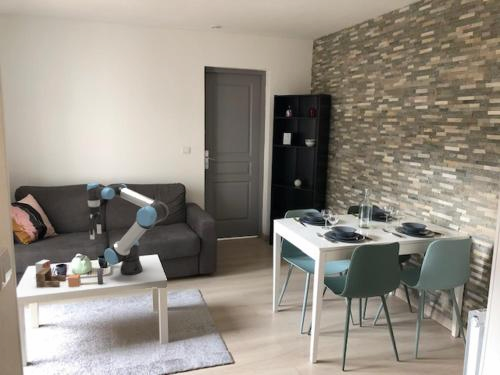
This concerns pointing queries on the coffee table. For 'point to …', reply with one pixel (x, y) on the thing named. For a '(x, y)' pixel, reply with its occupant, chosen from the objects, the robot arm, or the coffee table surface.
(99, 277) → the tethered block
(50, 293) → the coffee table surface
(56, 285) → the wooden toy block stack
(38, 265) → the small box
